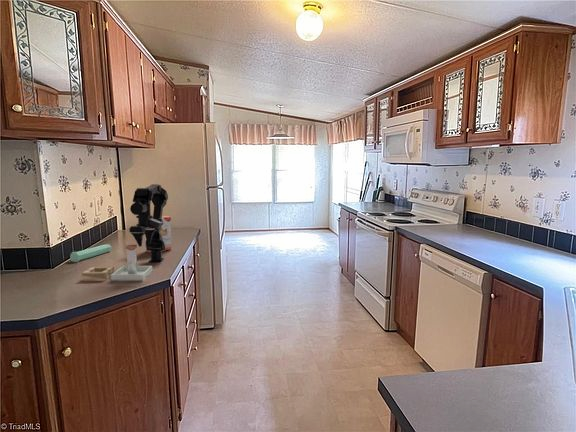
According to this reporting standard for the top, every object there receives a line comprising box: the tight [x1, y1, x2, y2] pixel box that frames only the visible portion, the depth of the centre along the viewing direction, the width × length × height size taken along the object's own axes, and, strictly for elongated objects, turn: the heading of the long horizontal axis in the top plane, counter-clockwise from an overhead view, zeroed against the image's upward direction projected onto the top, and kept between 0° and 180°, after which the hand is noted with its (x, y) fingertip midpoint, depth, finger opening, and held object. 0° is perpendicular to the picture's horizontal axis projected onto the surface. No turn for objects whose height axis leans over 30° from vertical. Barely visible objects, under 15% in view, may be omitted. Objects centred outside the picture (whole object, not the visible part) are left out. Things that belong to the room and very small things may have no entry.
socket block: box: [81, 266, 115, 282], centre depth 163 cm, size 10×10×4 cm
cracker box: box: [144, 215, 172, 254], centre depth 212 cm, size 14×6×21 cm, turn 126°
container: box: [69, 243, 112, 263], centre depth 199 cm, size 6×6×25 cm
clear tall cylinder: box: [125, 244, 138, 274], centre depth 164 cm, size 5×5×14 cm
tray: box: [110, 265, 153, 282], centre depth 165 cm, size 14×14×3 cm
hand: (144, 245), depth 174 cm, fingers open, 9 cm apart
